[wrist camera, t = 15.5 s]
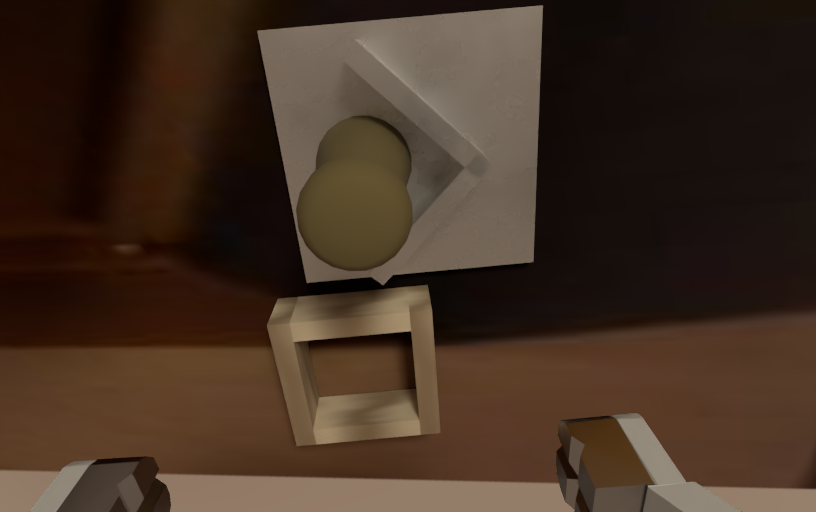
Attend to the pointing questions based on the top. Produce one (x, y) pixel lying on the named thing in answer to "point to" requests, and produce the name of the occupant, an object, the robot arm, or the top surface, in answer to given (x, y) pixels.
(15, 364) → the top surface
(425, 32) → the white ridged plate
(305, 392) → the wooden holder
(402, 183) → the cork
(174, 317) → the top surface
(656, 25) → the top surface
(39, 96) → the top surface
